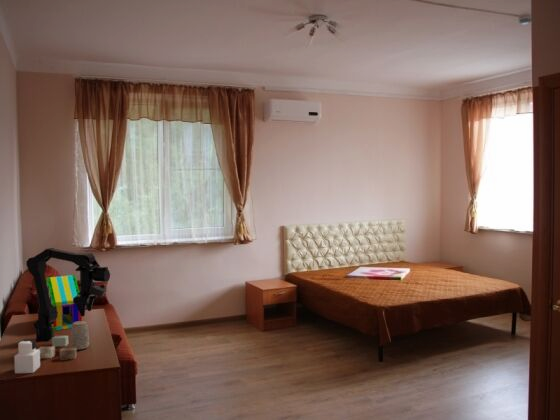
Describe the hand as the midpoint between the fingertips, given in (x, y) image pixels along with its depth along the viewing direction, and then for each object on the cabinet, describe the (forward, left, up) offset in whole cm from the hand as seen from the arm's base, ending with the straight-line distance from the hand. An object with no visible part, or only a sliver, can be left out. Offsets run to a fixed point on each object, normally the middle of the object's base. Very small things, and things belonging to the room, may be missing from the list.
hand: (86, 313), depth 234 cm
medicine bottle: (-11, -36, -13) cm, 39 cm away
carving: (+1, -10, -13) cm, 17 cm away
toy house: (-23, +30, -13) cm, 40 cm away
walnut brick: (0, -23, -13) cm, 26 cm away
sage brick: (-10, -6, -13) cm, 17 cm away
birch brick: (-10, -21, -13) cm, 26 cm away
